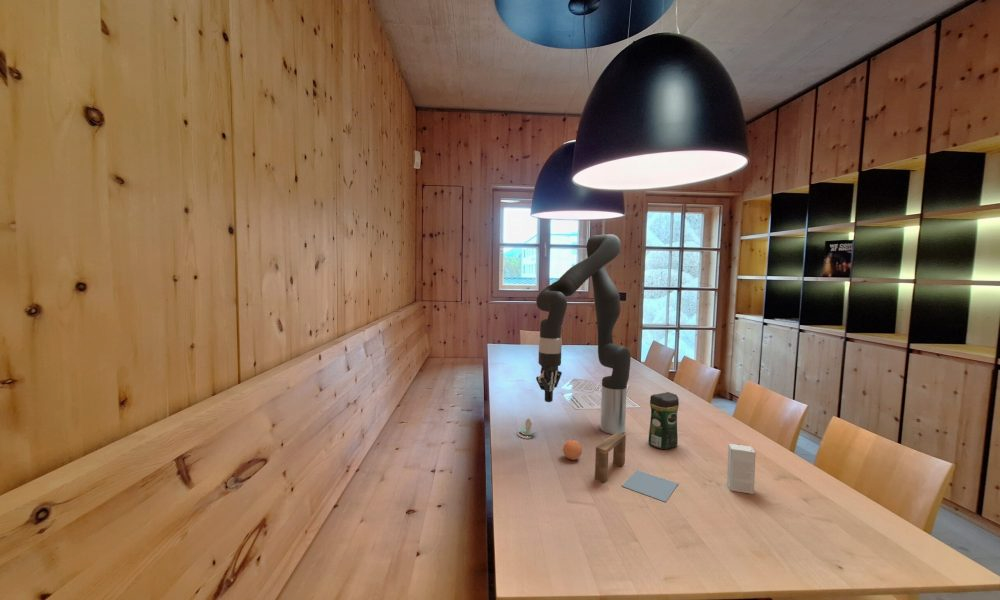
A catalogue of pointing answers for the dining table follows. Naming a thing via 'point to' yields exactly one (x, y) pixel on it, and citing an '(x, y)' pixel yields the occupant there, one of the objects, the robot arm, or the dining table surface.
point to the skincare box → (741, 468)
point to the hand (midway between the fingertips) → (548, 401)
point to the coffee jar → (663, 420)
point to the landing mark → (650, 485)
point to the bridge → (602, 455)
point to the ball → (572, 449)
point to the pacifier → (527, 431)
